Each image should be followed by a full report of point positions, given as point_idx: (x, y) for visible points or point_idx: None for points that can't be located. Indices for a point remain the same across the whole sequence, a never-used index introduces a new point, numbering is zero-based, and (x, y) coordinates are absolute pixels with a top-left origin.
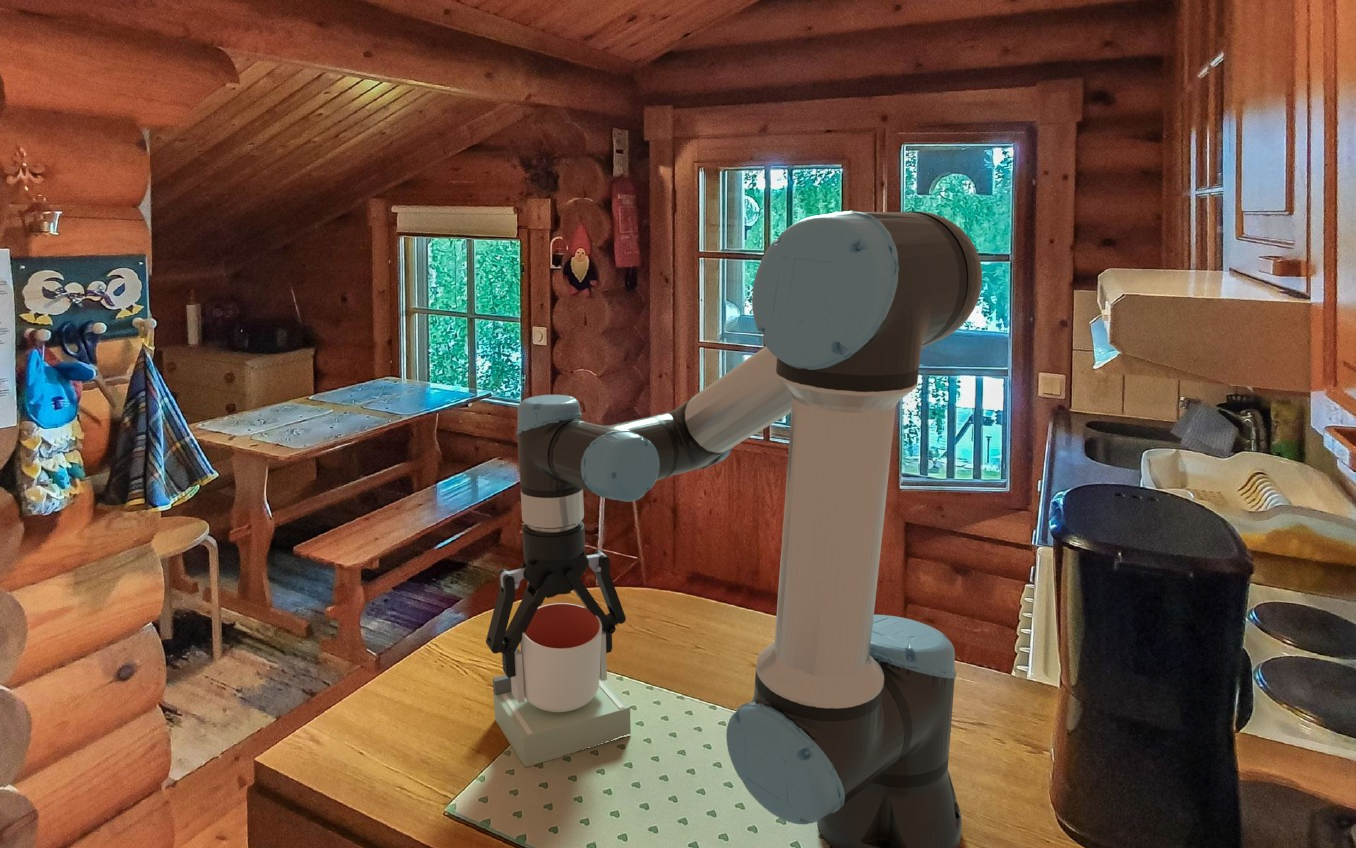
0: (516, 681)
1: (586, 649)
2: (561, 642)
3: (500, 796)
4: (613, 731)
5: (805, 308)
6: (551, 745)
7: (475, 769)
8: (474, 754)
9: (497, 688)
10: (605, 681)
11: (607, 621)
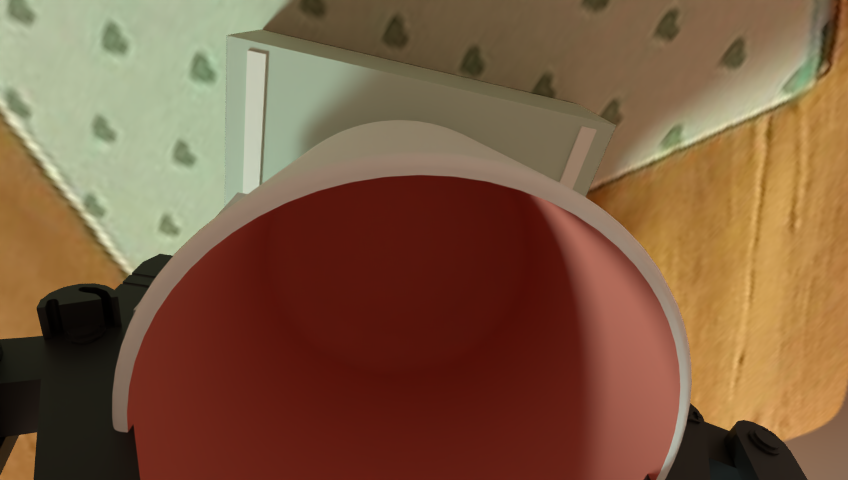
0: None
1: (391, 149)
2: (324, 405)
3: (702, 35)
4: (313, 45)
5: None
6: (515, 95)
7: (655, 179)
8: None
9: None
10: None
11: (65, 365)
